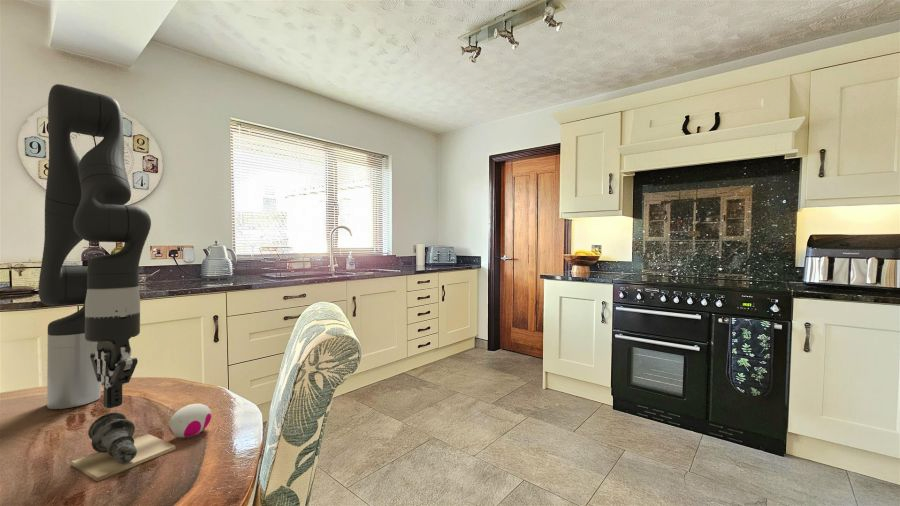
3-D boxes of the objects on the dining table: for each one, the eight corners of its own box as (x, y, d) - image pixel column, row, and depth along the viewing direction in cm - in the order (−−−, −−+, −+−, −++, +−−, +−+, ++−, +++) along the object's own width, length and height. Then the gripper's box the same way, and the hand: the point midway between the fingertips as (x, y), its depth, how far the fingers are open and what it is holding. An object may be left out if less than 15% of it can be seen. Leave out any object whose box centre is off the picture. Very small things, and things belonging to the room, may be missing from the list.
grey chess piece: (95, 449, 67) (116, 486, 60) (79, 427, 64) (99, 462, 58) (133, 426, 71) (157, 457, 65) (120, 404, 69) (143, 435, 62)
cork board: (71, 464, 63) (71, 461, 63) (148, 436, 73) (148, 433, 73) (97, 481, 58) (97, 477, 58) (175, 449, 68) (175, 445, 68)
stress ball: (180, 461, 70) (195, 435, 69) (153, 433, 71) (167, 407, 70) (216, 440, 77) (229, 417, 76) (190, 415, 79) (203, 392, 77)
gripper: (71, 312, 68) (70, 407, 68) (103, 317, 62) (102, 421, 61) (122, 307, 74) (121, 393, 74) (155, 311, 68) (155, 405, 68)
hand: (113, 406), depth 68 cm, fingers closed
